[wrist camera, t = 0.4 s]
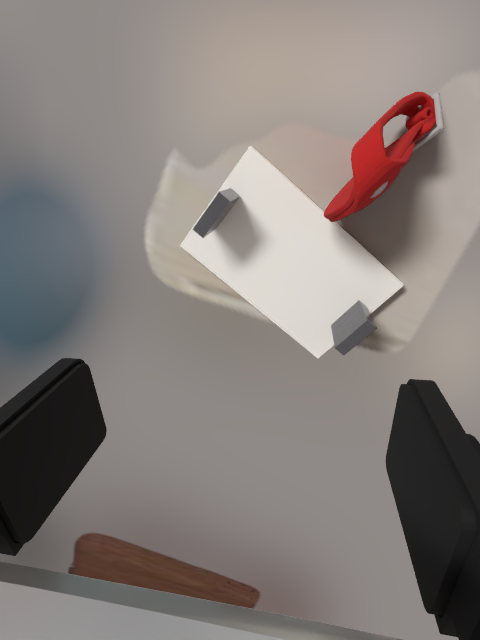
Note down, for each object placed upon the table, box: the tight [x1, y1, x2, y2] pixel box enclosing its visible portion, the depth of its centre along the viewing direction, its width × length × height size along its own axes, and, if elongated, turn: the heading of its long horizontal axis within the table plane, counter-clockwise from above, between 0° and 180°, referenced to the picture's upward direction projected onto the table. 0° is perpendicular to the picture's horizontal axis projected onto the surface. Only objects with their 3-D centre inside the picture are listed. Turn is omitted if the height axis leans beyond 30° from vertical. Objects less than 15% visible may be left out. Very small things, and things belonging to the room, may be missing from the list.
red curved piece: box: [324, 92, 444, 222], centre depth 25 cm, size 12×4×10 cm, turn 138°
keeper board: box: [180, 145, 404, 358], centre depth 32 cm, size 12×20×6 cm, turn 52°
